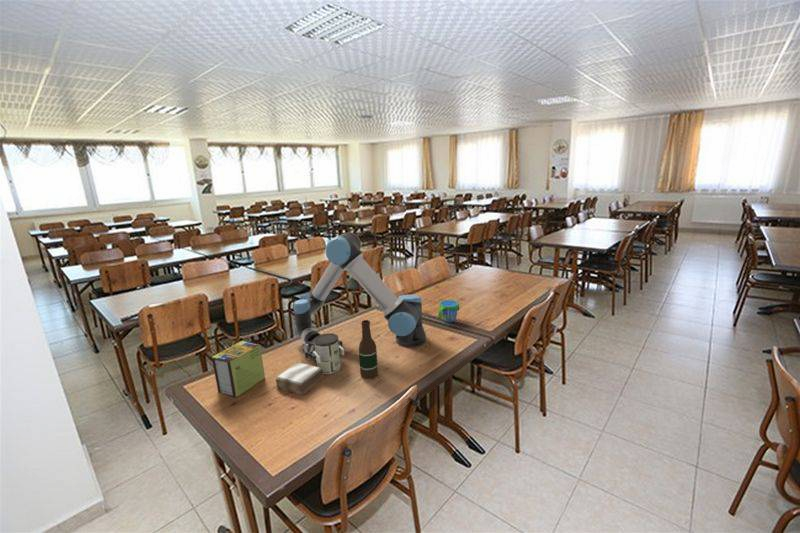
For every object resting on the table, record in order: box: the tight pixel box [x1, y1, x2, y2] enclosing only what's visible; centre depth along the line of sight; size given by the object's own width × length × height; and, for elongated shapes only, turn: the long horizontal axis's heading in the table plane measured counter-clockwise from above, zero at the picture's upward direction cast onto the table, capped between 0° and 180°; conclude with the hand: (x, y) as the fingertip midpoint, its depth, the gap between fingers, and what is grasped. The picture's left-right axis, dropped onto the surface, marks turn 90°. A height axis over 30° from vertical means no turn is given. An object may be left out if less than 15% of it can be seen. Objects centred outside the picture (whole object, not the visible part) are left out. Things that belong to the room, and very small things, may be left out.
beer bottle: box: [358, 319, 379, 380], centre depth 153 cm, size 8×8×24 cm
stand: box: [275, 362, 324, 396], centre depth 151 cm, size 13×13×5 cm
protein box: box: [211, 340, 266, 398], centre depth 150 cm, size 10×15×16 cm
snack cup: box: [437, 299, 460, 323], centre depth 206 cm, size 16×10×10 cm
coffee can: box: [314, 332, 342, 375], centre depth 160 cm, size 10×10×14 cm
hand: (331, 356), depth 157 cm, fingers closed on coffee can, 10 cm apart
